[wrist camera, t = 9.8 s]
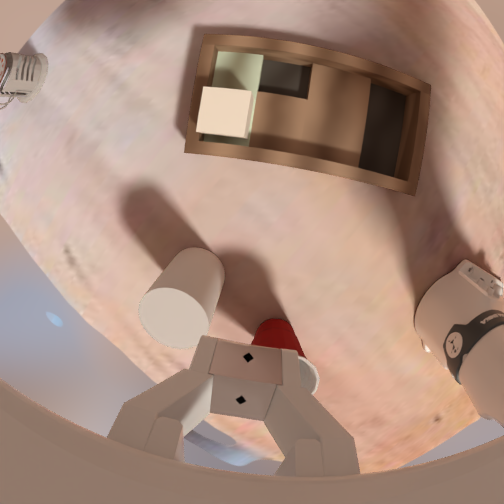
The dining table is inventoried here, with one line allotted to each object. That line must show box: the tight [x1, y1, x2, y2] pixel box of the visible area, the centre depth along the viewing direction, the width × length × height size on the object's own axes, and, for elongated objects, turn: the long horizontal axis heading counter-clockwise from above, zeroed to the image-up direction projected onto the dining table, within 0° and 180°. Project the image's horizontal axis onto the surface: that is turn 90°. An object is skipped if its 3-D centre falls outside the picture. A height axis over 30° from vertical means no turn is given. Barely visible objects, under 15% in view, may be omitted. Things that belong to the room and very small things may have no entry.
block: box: [196, 87, 254, 139], centre depth 28 cm, size 5×5×5 cm
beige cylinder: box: [138, 247, 225, 349], centre depth 34 cm, size 8×8×12 cm
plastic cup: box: [251, 319, 320, 395], centre depth 37 cm, size 11×11×12 cm
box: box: [184, 34, 431, 196], centre depth 29 cm, size 28×15×4 cm, turn 82°
